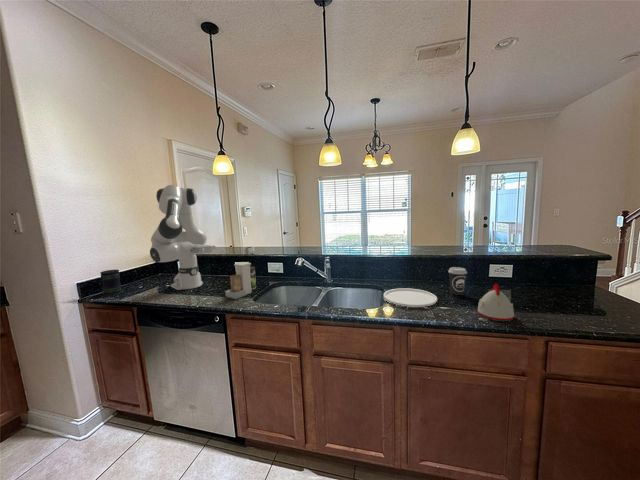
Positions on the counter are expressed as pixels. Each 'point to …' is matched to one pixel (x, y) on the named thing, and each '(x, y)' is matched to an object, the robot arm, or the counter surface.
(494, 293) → the kitchen timer
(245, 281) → the boot
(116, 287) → the storage jar
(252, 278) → the coffee can
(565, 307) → the counter surface
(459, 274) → the coffee cup
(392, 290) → the plate
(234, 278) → the tan rectangular block
